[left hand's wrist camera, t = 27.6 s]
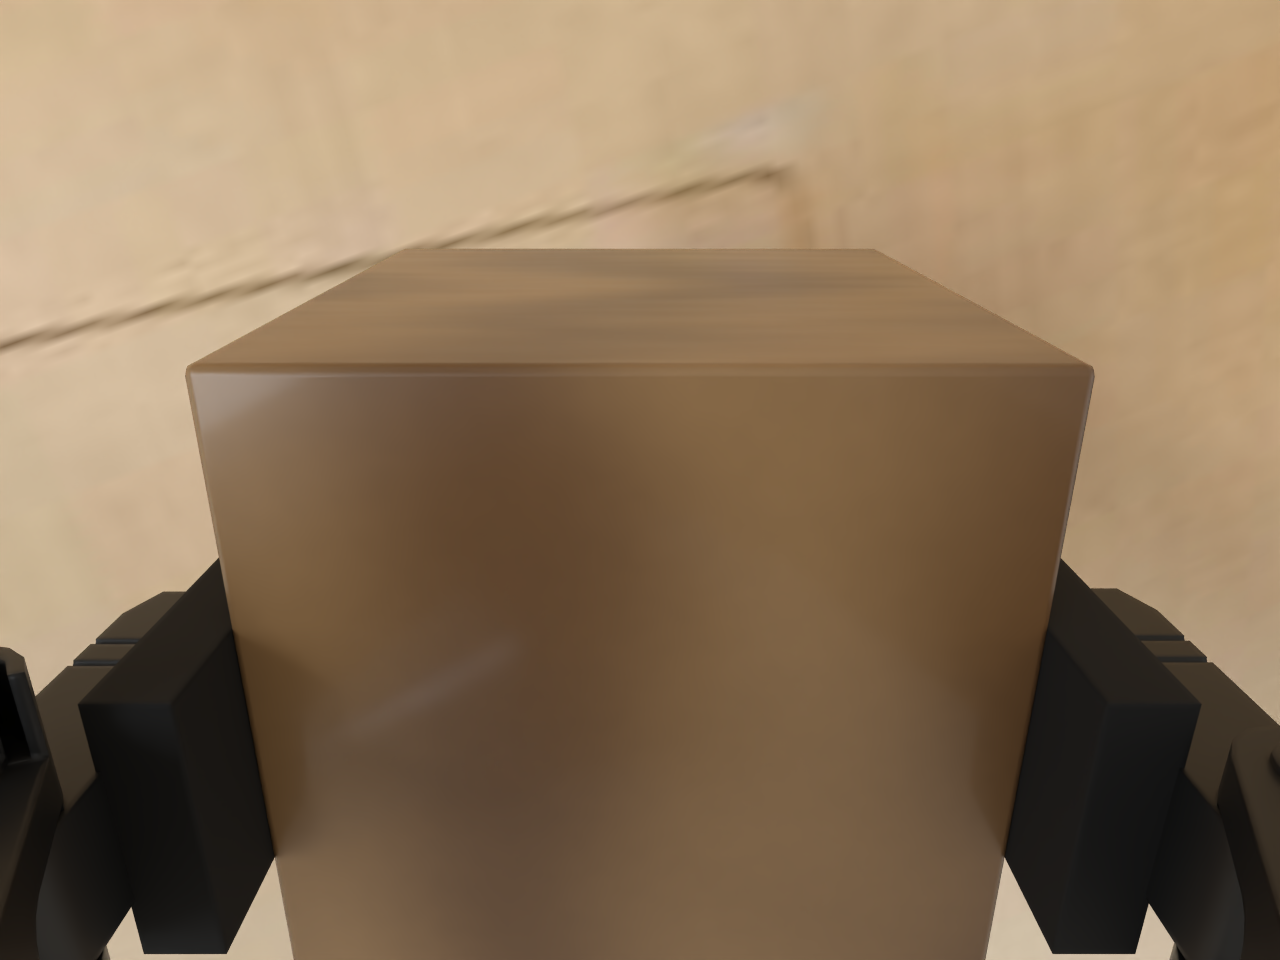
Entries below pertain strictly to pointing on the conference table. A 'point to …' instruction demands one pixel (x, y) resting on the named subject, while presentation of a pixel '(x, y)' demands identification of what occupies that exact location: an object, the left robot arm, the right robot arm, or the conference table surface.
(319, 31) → the conference table surface
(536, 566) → the block
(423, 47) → the conference table surface
